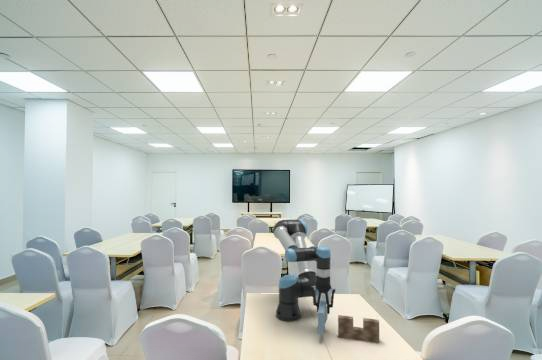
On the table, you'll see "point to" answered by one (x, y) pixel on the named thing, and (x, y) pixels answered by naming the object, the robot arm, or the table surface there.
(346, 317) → the slotted beam
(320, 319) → the long blue bar
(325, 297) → the skincare box
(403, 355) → the table surface
